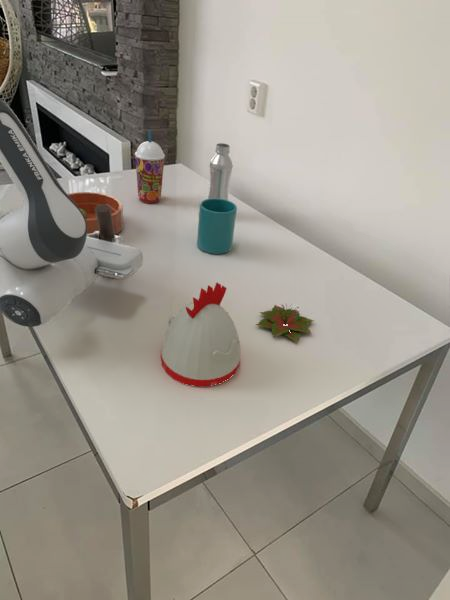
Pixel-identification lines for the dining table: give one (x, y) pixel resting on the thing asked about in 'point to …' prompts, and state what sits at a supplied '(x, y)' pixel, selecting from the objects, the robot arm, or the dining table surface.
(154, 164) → the smoothie
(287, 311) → the green leafy plant
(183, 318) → the kitchen timer
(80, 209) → the green ball
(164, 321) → the dining table surface
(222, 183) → the silver bottle
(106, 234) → the masher
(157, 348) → the dining table surface
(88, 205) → the bowl
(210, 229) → the cup
